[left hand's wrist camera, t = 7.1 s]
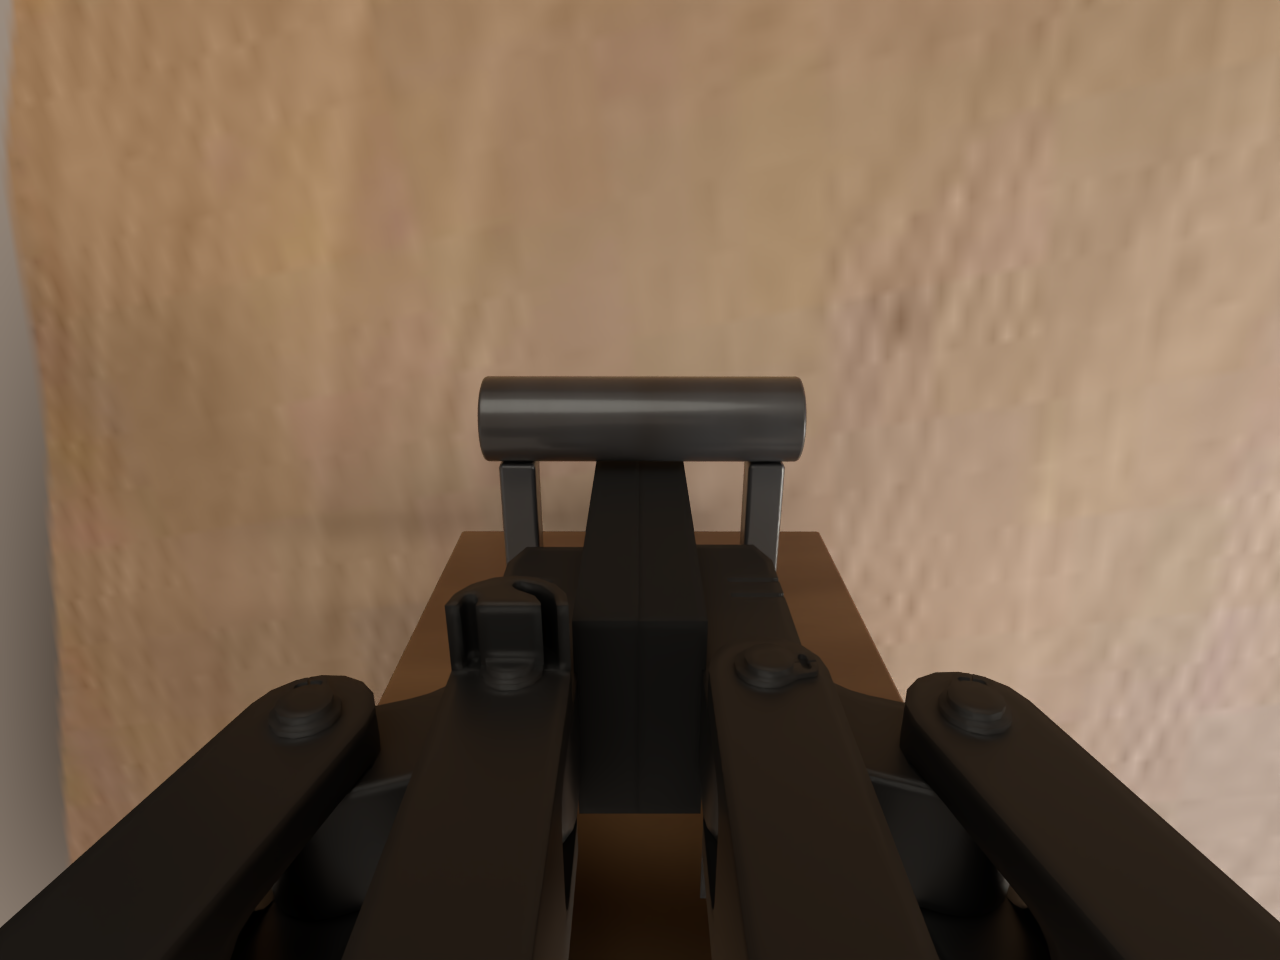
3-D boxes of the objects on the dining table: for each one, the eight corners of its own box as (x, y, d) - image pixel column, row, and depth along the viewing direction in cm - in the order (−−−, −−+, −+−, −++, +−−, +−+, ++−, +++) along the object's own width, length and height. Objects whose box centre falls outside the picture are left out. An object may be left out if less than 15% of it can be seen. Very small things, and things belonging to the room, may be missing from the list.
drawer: (441, 319, 17) (319, 412, 10) (840, 320, 17) (965, 412, 10) (510, 1038, 26) (468, 1323, 20) (768, 1038, 26) (810, 1322, 20)
